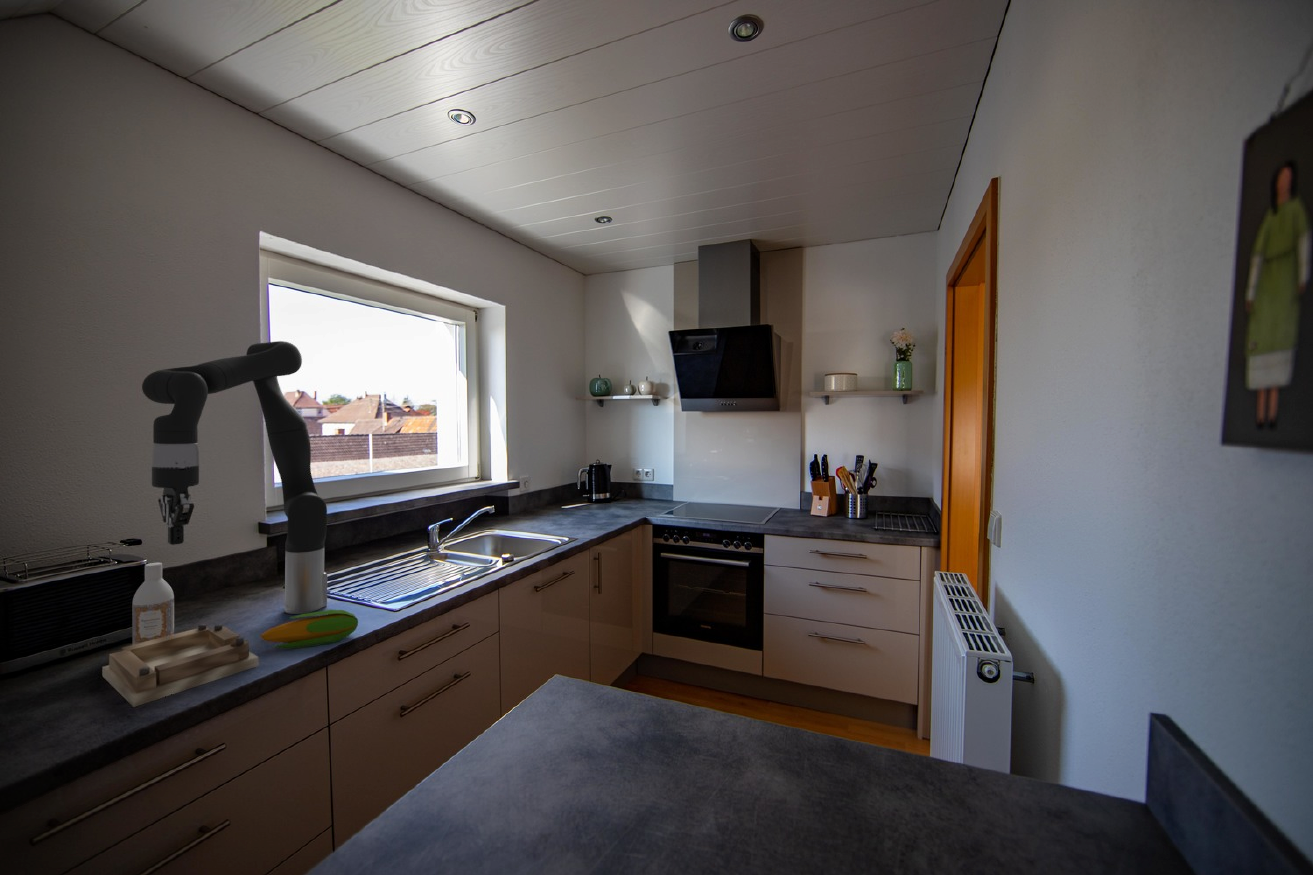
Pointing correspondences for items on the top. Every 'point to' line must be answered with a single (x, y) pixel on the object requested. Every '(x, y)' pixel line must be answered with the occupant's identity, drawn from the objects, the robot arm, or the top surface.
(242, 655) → the brown rectangular block
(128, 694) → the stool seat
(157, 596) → the bath foam
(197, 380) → the robot arm
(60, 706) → the top surface
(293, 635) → the corn
